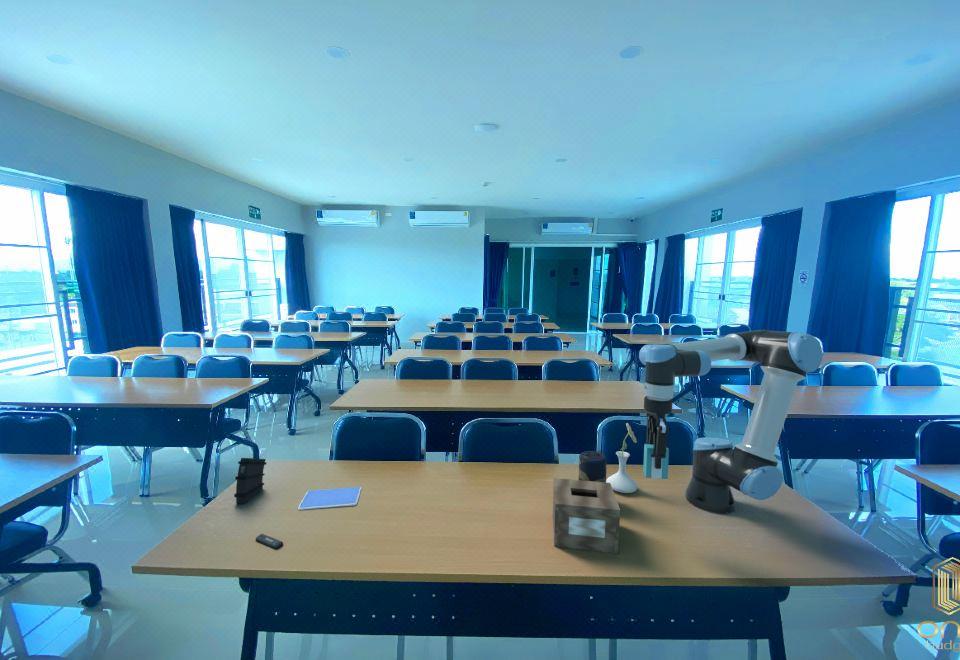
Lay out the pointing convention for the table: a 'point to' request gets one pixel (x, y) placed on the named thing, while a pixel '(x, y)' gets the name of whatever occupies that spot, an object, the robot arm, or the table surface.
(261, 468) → the black flat ridged block
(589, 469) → the canister
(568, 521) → the suggestion box
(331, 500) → the tablet computer
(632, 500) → the table surface
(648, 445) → the block
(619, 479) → the flower in vase
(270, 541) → the usb stick
